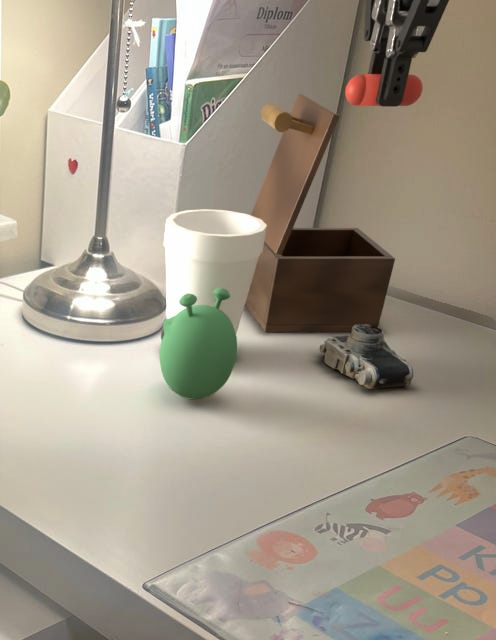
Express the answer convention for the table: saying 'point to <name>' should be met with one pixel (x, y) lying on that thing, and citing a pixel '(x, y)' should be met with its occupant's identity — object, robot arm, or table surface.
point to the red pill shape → (366, 90)
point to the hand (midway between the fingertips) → (381, 101)
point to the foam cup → (211, 258)
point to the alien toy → (198, 348)
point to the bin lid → (292, 165)
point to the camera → (367, 358)
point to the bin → (320, 282)
